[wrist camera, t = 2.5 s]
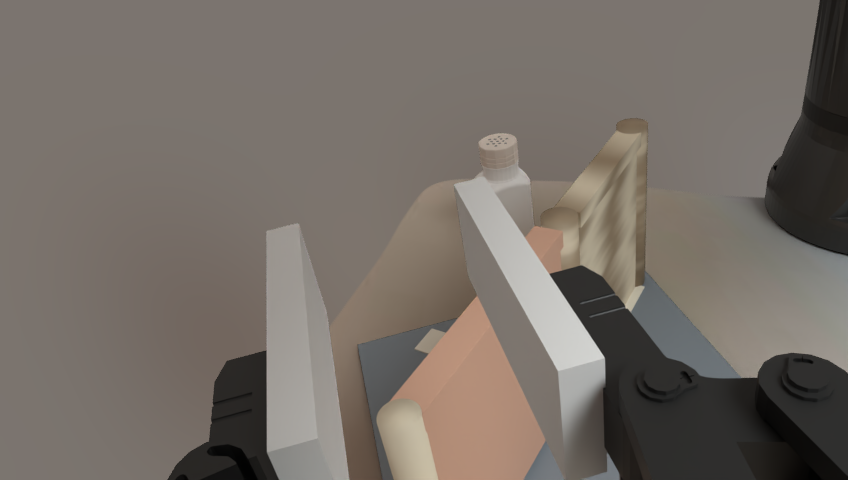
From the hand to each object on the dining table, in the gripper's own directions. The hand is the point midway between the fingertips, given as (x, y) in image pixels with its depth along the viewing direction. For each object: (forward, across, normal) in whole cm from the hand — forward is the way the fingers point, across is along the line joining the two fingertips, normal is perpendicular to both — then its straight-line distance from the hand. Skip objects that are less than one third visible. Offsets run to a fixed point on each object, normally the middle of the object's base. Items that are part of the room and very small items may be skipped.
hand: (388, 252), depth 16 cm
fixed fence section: (+20, +14, -24) cm, 34 cm away
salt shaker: (+35, +12, -24) cm, 44 cm away
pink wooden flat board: (+9, +4, -23) cm, 25 cm away
